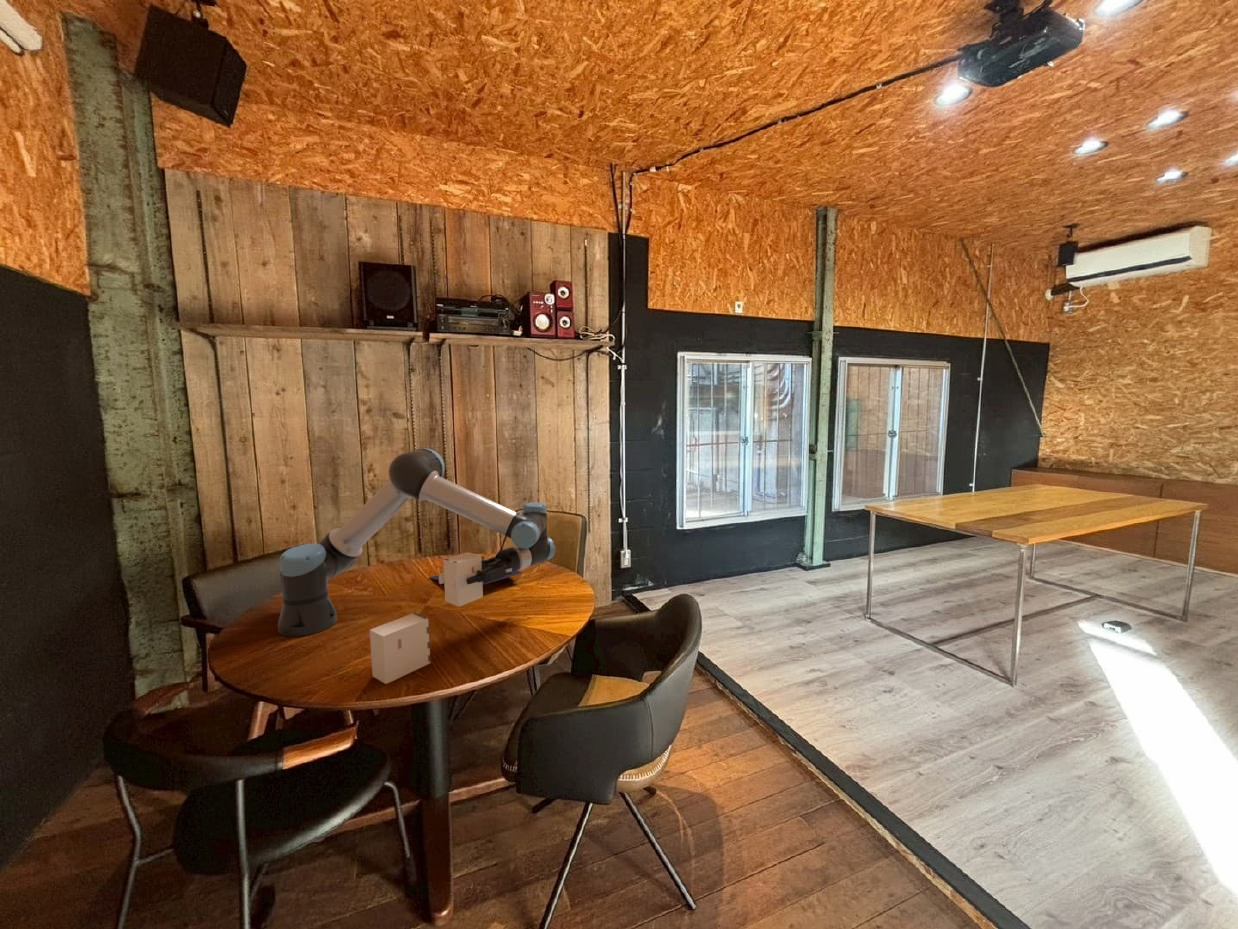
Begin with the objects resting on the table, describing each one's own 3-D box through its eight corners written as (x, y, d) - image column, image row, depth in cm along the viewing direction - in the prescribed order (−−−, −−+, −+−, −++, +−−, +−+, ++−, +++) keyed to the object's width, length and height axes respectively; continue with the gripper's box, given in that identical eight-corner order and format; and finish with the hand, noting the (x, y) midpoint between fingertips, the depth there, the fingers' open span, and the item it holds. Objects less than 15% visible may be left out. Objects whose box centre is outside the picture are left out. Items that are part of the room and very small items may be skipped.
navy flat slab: (470, 597, 173) (469, 586, 173) (429, 585, 194) (428, 575, 194) (529, 578, 190) (528, 568, 190) (485, 569, 211) (484, 560, 211)
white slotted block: (372, 676, 126) (369, 628, 124) (416, 656, 136) (414, 612, 134) (386, 684, 122) (383, 635, 121) (430, 663, 132) (428, 618, 130)
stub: (445, 601, 141) (443, 558, 140) (469, 592, 148) (467, 551, 146) (459, 606, 138) (456, 562, 136) (483, 597, 144) (481, 555, 143)
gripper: (535, 577, 151) (470, 603, 133) (492, 565, 162) (427, 587, 144) (534, 553, 150) (469, 575, 132) (491, 542, 161) (425, 561, 143)
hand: (447, 581), depth 138 cm, fingers closed on stub, 6 cm apart
